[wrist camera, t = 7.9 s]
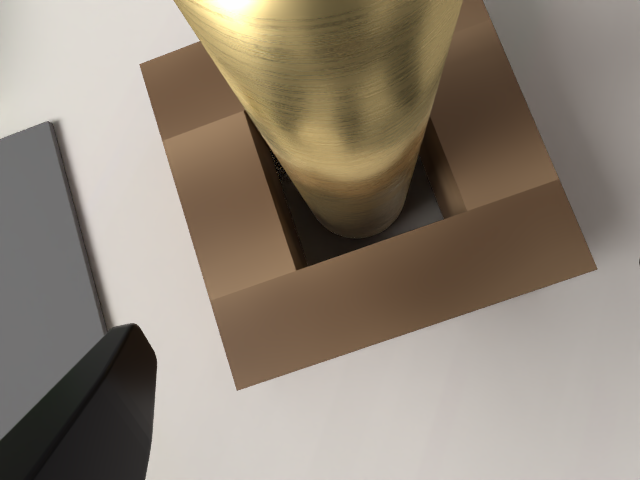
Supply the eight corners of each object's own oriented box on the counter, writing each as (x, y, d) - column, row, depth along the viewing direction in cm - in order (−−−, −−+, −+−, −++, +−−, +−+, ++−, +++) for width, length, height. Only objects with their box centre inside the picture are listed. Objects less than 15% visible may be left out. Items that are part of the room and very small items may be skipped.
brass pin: (395, 247, 19) (464, 49, 4) (297, 227, 20) (68, -13, 5) (415, 151, 20) (541, -326, 5) (319, 134, 20) (166, -348, 5)
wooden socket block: (550, 277, 18) (597, 269, 15) (265, 373, 19) (237, 390, 15) (441, 14, 20) (457, -58, 16) (183, 110, 21) (139, 64, 17)
